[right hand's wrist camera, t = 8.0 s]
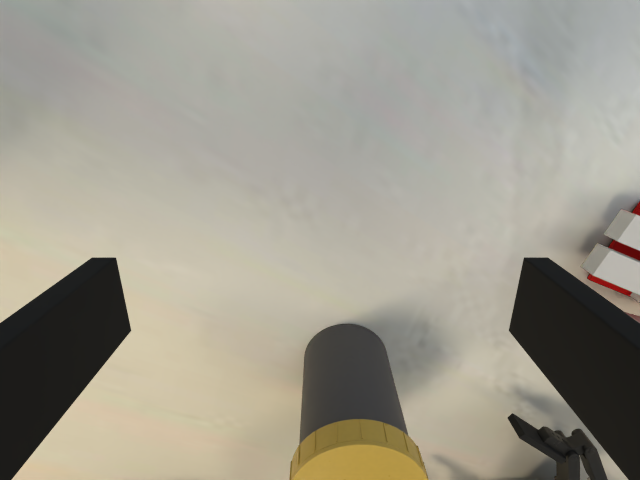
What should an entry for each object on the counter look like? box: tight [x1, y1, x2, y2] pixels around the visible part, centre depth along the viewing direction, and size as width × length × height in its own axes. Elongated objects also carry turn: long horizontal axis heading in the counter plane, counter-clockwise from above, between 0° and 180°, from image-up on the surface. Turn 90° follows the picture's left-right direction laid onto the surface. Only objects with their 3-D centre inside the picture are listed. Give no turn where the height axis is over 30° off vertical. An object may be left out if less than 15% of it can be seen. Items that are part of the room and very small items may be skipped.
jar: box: [300, 324, 408, 444], centre depth 37 cm, size 10×10×16 cm
